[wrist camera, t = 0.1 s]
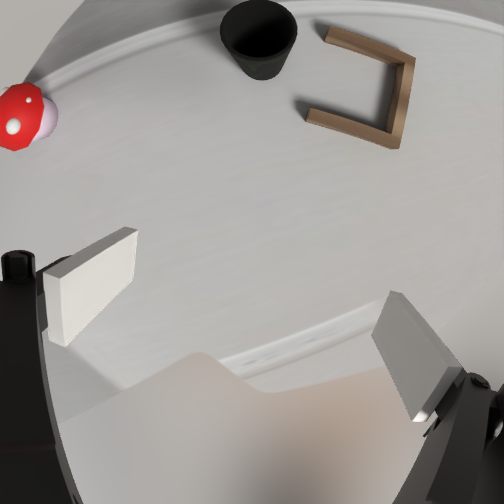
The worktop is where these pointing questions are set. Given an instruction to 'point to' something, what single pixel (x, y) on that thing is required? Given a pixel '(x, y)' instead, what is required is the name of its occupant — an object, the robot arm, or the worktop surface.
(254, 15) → the cup
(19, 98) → the mushroom
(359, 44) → the wooden u-shaped bracket
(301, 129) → the worktop surface
